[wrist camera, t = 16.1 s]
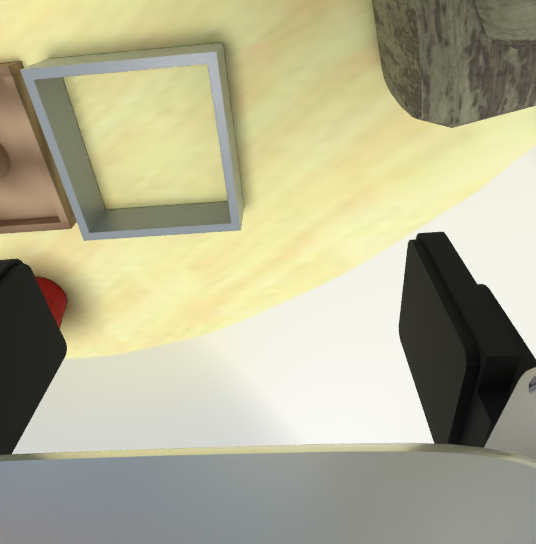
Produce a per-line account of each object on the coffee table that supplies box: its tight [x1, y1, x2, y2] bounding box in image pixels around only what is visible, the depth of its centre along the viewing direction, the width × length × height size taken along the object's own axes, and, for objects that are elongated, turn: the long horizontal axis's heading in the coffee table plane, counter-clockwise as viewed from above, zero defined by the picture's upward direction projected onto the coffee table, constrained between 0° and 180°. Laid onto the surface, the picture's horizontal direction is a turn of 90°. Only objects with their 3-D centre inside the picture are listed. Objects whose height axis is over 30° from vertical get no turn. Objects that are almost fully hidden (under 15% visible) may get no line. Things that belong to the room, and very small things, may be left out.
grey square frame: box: [20, 42, 244, 241], centre depth 40 cm, size 16×16×5 cm
